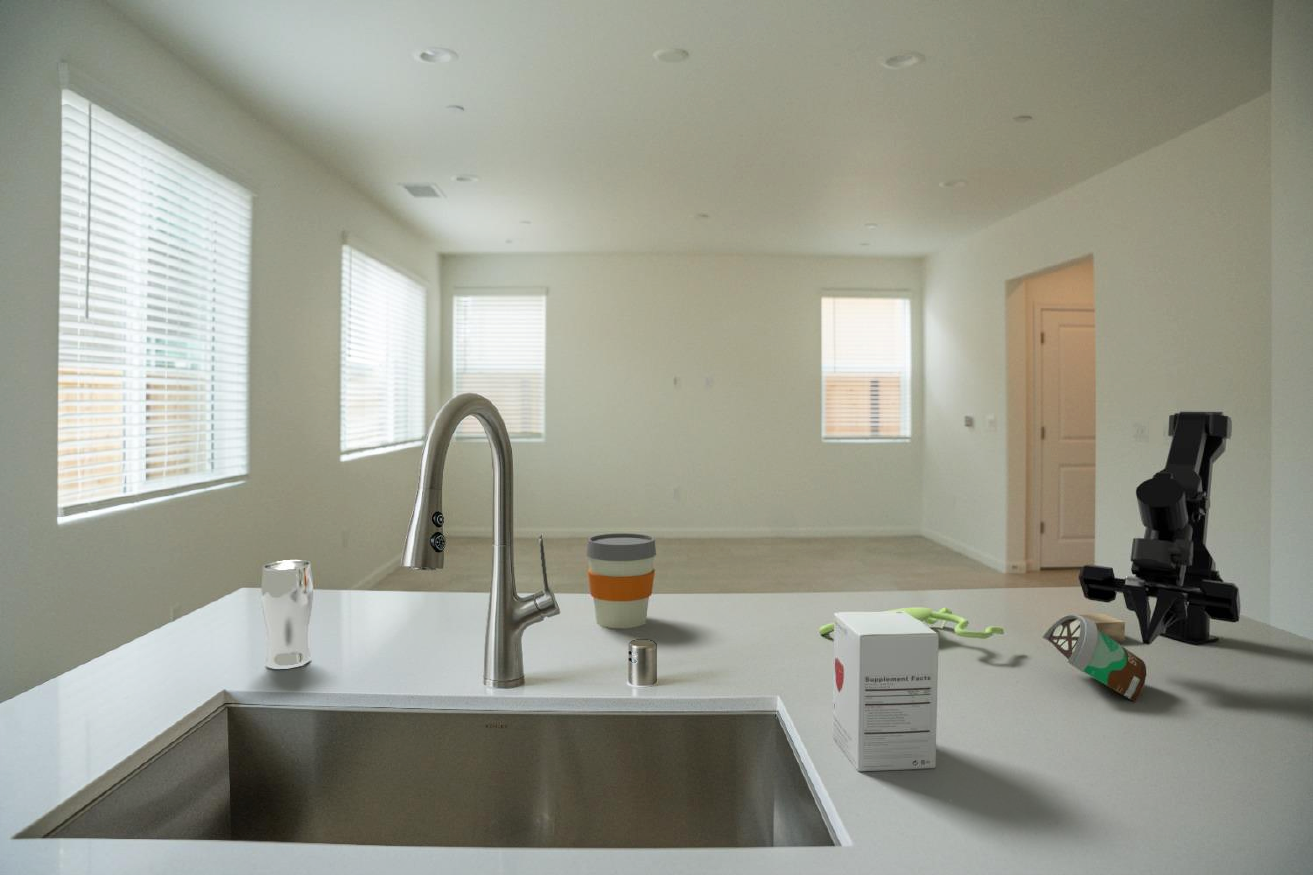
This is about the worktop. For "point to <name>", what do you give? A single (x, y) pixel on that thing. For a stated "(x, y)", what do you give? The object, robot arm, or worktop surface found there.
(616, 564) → the reusable coffee cup
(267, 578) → the beer glass
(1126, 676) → the food container
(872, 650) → the supplement box
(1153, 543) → the robot arm
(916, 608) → the figurine
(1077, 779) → the worktop surface
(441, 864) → the worktop surface
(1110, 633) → the oak block
